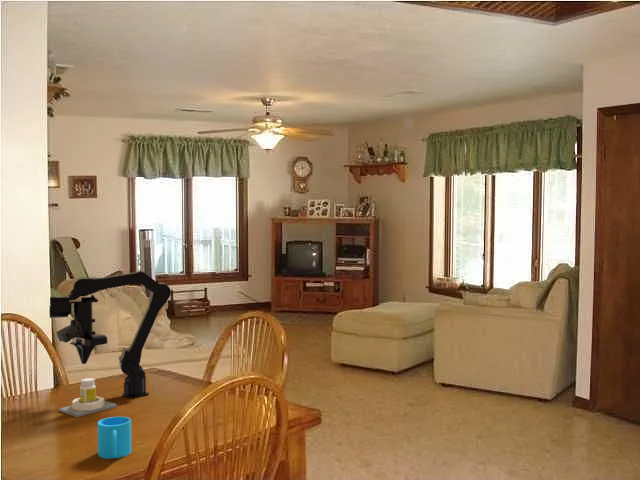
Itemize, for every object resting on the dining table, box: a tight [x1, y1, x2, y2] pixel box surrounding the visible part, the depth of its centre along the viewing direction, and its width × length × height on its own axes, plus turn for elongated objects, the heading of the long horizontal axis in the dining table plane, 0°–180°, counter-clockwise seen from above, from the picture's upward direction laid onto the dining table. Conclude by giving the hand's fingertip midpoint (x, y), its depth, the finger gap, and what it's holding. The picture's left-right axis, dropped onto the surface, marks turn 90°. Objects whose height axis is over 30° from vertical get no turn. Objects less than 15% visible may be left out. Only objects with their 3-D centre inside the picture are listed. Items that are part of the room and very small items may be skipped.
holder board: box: [58, 395, 118, 418], centre depth 214 cm, size 14×10×3 cm
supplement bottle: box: [79, 377, 97, 403], centre depth 214 cm, size 5×5×8 cm
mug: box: [97, 416, 132, 459], centre depth 173 cm, size 12×8×8 cm
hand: (84, 363), depth 224 cm, fingers closed
